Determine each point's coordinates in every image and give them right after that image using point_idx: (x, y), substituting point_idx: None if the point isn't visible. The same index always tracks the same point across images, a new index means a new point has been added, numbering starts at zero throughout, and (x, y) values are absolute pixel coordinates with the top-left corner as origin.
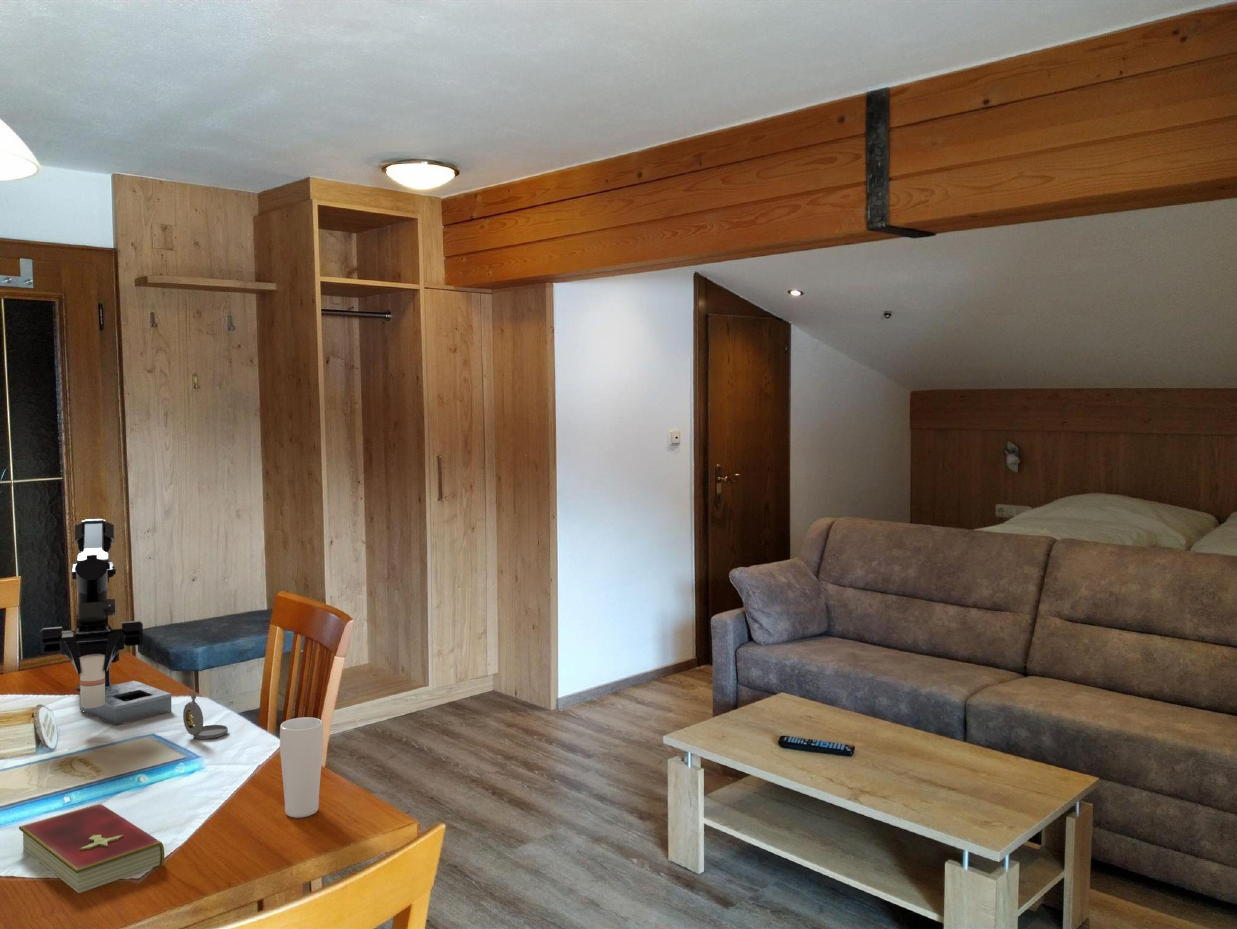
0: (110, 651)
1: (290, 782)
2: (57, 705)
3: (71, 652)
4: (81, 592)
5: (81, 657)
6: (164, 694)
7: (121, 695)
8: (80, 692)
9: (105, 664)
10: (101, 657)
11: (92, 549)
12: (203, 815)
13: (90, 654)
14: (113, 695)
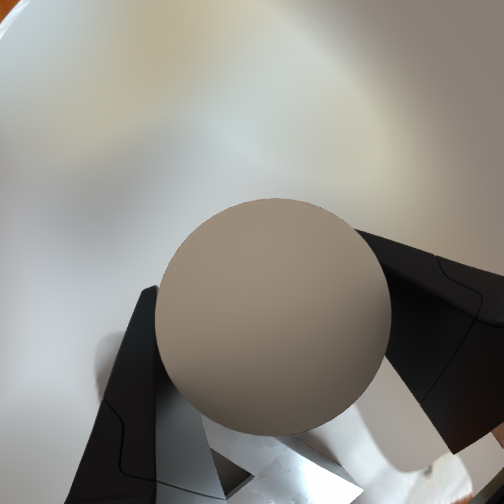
0: (112, 417)
1: None
2: (398, 481)
3: (475, 269)
4: None
5: (374, 279)
6: None
7: (231, 493)
8: (360, 490)
9: (150, 306)
10: (163, 282)
11: None
12: (20, 3)
13: (339, 407)
14: (249, 482)
